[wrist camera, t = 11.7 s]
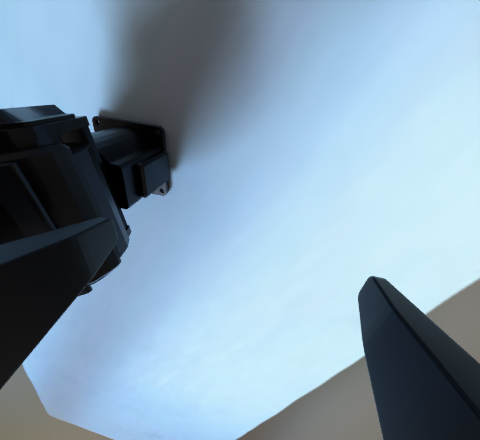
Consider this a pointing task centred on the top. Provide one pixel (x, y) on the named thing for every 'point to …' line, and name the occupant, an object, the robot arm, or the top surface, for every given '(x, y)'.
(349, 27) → the top surface
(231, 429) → the top surface
